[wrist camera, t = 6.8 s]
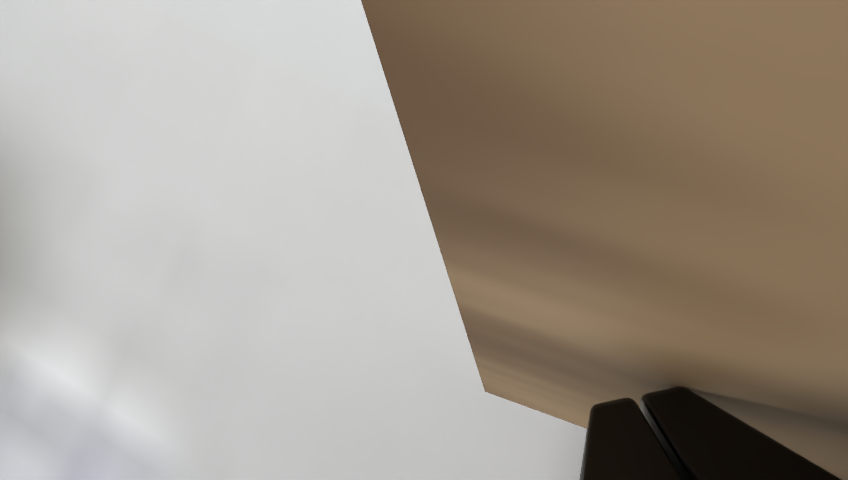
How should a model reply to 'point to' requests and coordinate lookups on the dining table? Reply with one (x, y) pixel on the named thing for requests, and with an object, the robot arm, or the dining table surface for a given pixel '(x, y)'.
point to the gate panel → (639, 198)
